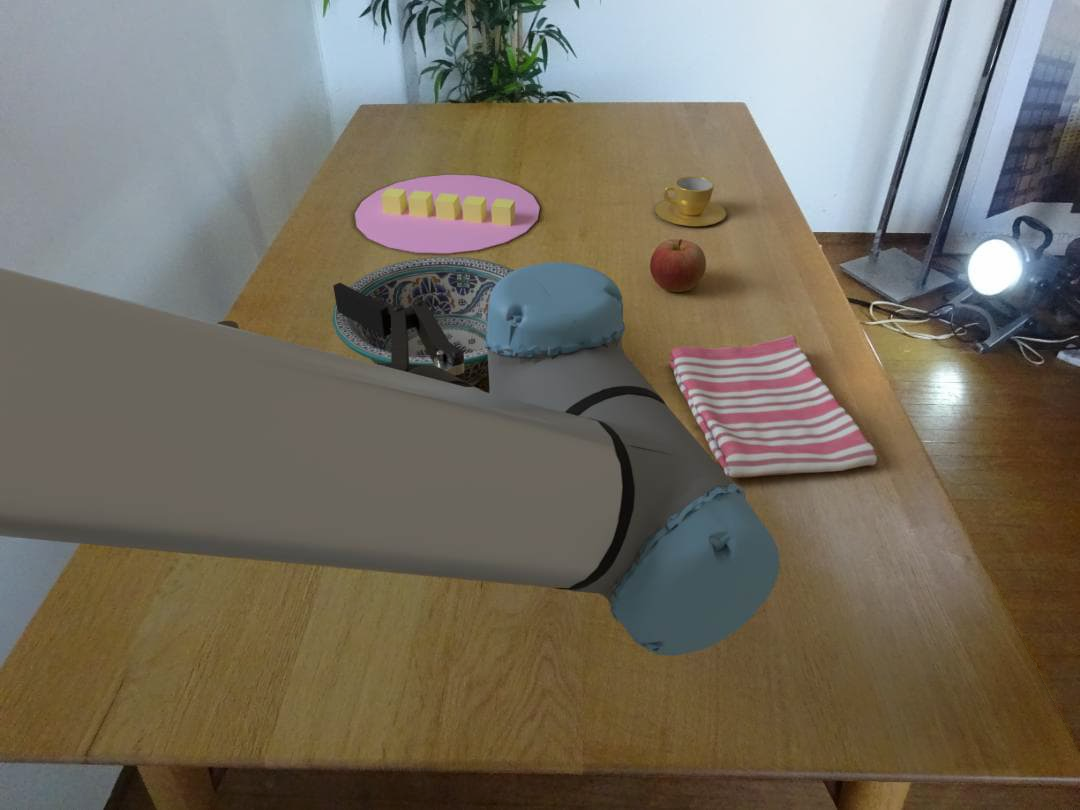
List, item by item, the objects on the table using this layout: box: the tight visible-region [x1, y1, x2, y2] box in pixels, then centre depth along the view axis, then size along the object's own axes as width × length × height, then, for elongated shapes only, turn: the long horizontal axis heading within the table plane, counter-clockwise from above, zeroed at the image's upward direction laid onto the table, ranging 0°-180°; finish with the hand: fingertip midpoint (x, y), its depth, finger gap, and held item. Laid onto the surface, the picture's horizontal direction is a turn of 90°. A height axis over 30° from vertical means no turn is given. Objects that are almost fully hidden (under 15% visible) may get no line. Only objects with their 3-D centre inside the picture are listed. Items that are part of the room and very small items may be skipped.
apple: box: [649, 238, 707, 293], centre depth 117 cm, size 8×8×8 cm
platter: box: [354, 174, 541, 255], centre depth 139 cm, size 32×32×3 cm
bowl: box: [332, 256, 515, 387], centre depth 100 cm, size 25×25×10 cm
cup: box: [655, 175, 727, 227], centre depth 138 cm, size 12×12×5 cm
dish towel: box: [668, 334, 878, 479], centre depth 94 cm, size 17×23×4 cm
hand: (274, 327), depth 69 cm, fingers open, 13 cm apart
